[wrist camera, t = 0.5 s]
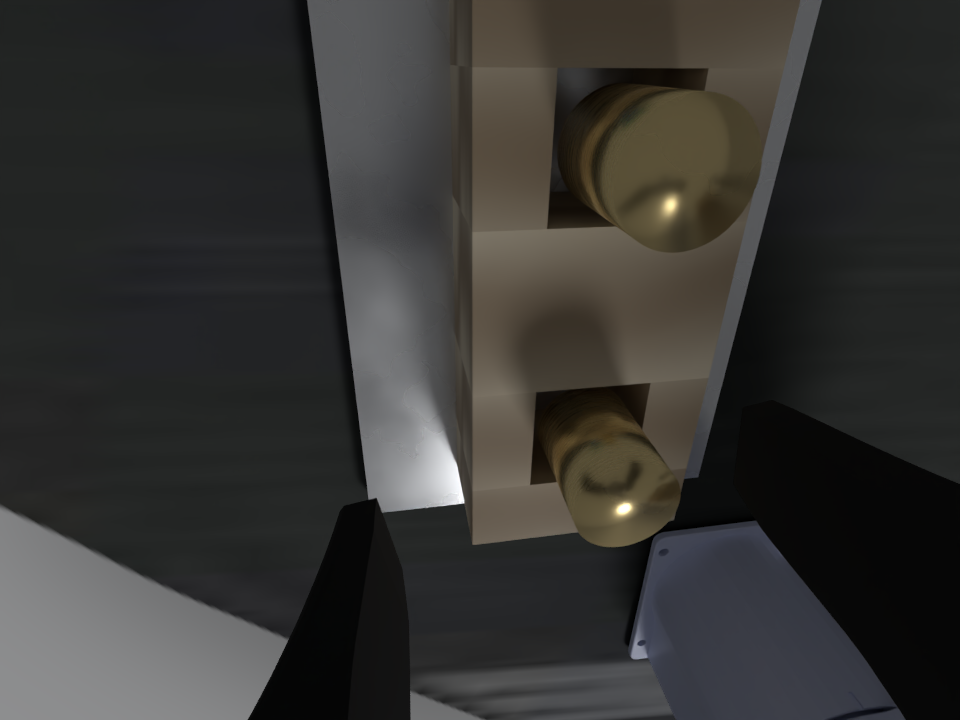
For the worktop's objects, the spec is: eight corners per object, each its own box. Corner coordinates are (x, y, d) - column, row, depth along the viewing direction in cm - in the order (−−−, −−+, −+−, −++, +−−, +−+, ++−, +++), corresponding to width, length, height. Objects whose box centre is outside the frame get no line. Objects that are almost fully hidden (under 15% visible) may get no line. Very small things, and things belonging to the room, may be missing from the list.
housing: (627, 448, 22) (673, 520, 19) (457, 465, 21) (472, 545, 18) (710, -33, 14) (815, -61, 11) (448, -42, 13) (472, -76, 10)
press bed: (686, 462, 25) (698, 477, 24) (370, 496, 23) (370, 513, 22) (826, -114, 15) (854, -124, 14) (293, -144, 13) (287, -159, 12)
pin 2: (618, 455, 18) (670, 540, 15) (535, 463, 17) (569, 553, 14) (631, 381, 16) (690, 457, 13) (540, 389, 16) (579, 469, 13)
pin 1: (659, 206, 14) (740, 249, 11) (553, 210, 13) (605, 256, 10) (680, 82, 12) (779, 91, 9) (562, 82, 12) (625, 91, 9)
